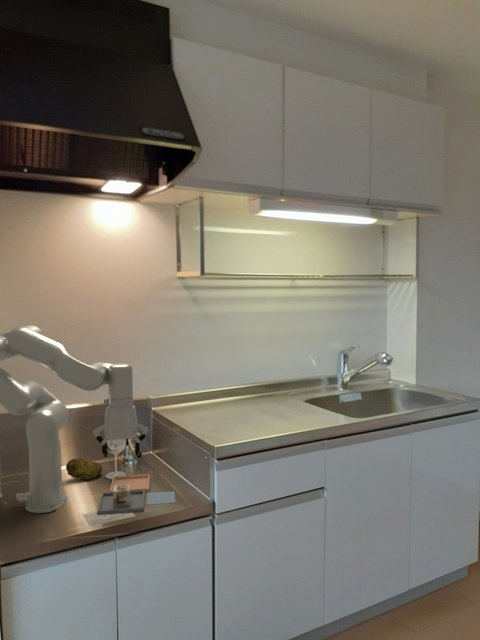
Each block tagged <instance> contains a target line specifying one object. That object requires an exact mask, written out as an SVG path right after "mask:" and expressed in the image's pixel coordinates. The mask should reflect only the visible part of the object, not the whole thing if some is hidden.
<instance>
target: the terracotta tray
mask: <svg viewBox="0 0 480 640" xmlns="http://www.w3.org/2000/svg"><path fill="white" fill-rule="evenodd" d="M150 477H151V476H150V474H136V475H134V474H133V475H126V476H115V477H113V480H111V485H110V490H109V492H113V490H114V486H115V485H130V491H137V490H145V493H150V483H151V482H150V481H151V479H150Z"/></svg>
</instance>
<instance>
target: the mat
mask: <svg viewBox="0 0 480 640" xmlns="http://www.w3.org/2000/svg"><path fill="white" fill-rule="evenodd" d="M146 497H147V498H146V499H147V503H146V504H147V506H150V505H164V504H165V505H166V504H176V493H175V491H174V490H173V491H161V492H159V491H158V492H147V496H146Z"/></svg>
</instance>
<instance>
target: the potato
mask: <svg viewBox="0 0 480 640" xmlns="http://www.w3.org/2000/svg"><path fill="white" fill-rule="evenodd" d="M65 469H66V471H67V475H69V476H70V478H71V477H72V478H74V479H80V480H84V481H85V480H87V481H88V480H92V479H95V478H97V477H99V476H100V475H101V474H102V471H103V465H102V464H100V463H99V462H95V461H91V460H88V459H85V458H81V457H75V458H72V459H70V460H68V461H67V463H66V465H65Z"/></svg>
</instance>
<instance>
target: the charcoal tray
mask: <svg viewBox="0 0 480 640" xmlns="http://www.w3.org/2000/svg"><path fill="white" fill-rule="evenodd" d="M145 495H146V492H145V490H137V491H130V506H121V507H113V492H110V491H109V492H108V491H107V492H101V495H100V499H99V503H98V507H97V511H96V514H97V515H109V514H111V515H112V514H123V513H125V514H126V513H137V512H139V513H140V512H144V510H145Z"/></svg>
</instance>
